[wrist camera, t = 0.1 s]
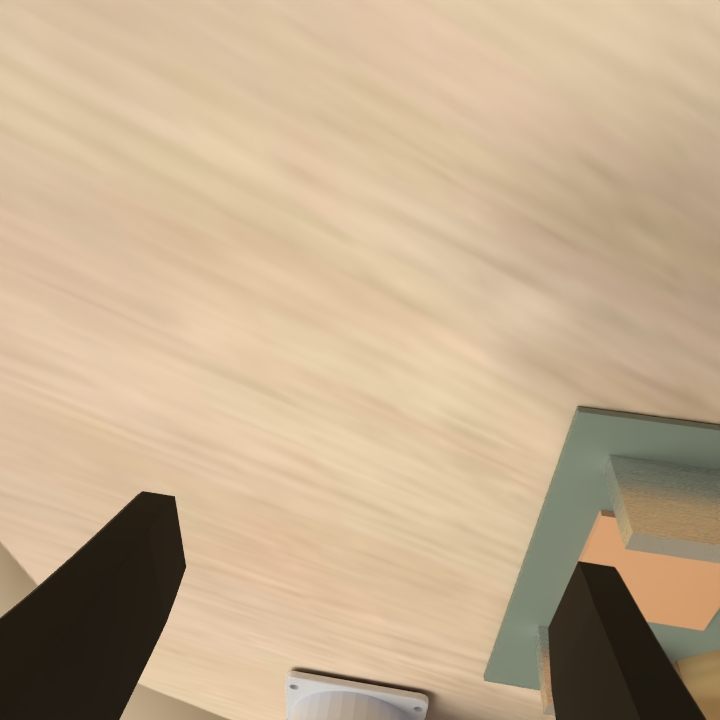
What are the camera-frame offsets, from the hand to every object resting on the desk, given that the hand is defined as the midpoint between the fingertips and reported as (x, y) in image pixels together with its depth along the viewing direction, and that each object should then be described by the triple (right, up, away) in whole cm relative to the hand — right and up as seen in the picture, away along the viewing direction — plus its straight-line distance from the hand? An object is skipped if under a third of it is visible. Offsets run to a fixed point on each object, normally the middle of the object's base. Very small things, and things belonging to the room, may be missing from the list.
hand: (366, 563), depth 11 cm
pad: (+12, -5, +13) cm, 18 cm away
